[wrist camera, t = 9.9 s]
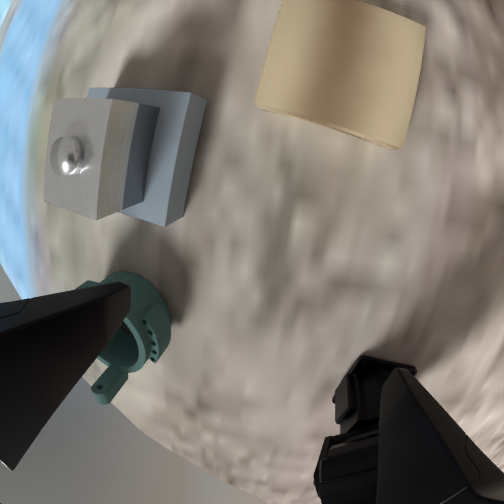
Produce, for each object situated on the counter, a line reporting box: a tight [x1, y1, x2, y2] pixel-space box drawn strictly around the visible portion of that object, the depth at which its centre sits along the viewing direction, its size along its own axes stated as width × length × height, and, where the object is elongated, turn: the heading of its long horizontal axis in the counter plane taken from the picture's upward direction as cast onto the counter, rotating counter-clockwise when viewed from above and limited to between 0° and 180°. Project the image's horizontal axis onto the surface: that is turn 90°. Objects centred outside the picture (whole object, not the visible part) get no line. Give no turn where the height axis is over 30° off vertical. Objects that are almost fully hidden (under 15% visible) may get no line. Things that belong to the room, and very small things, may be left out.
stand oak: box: [254, 0, 426, 149], centre depth 14 cm, size 9×9×3 cm
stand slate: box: [87, 88, 208, 227], centre depth 19 cm, size 9×9×3 cm
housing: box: [44, 98, 160, 220], centre depth 15 cm, size 5×6×6 cm
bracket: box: [75, 271, 171, 404], centre depth 22 cm, size 9×9×9 cm
